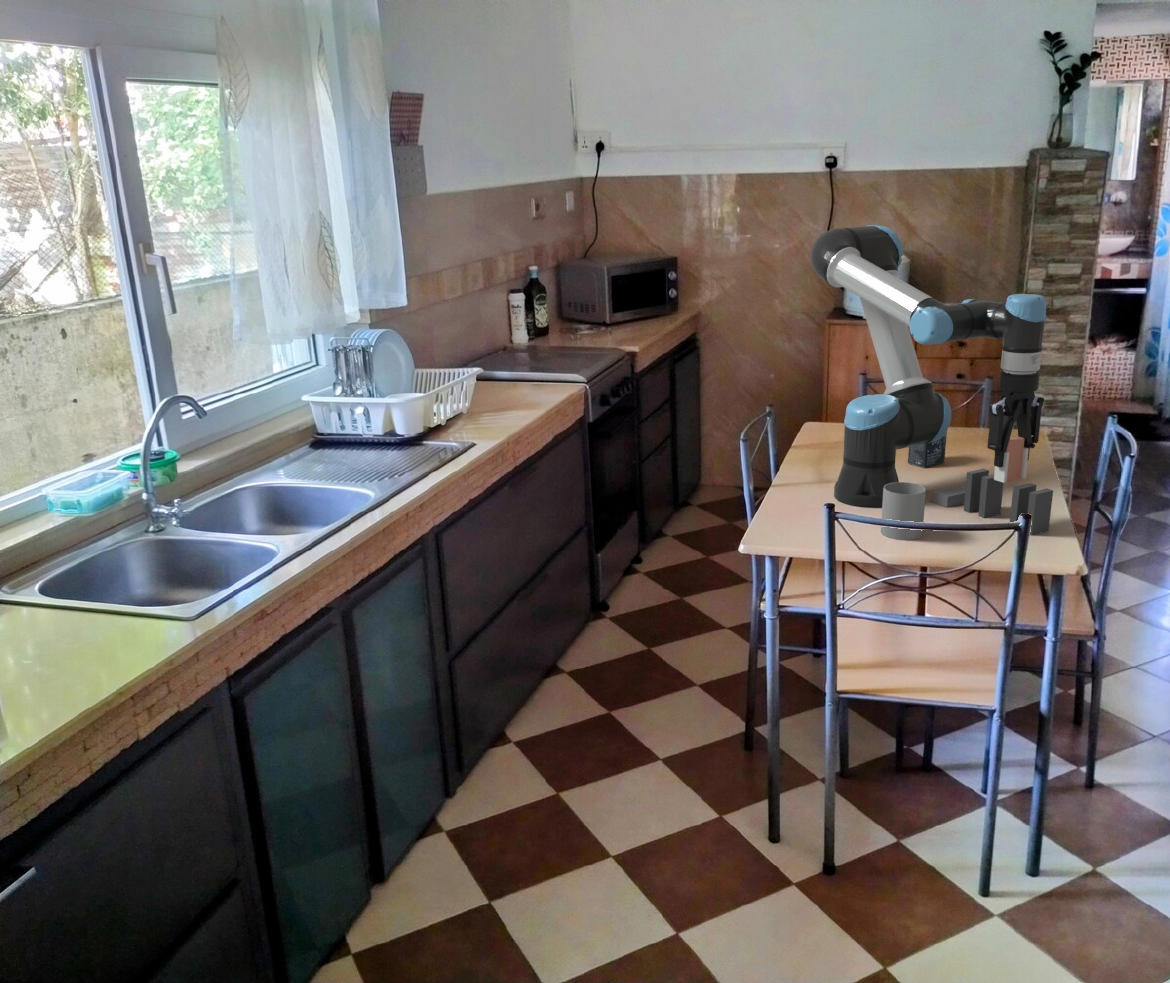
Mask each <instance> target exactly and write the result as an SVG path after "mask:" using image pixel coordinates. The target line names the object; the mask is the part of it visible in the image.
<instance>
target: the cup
mask: <svg viewBox="0 0 1170 983" xmlns="http://www.w3.org/2000/svg"><path fill="white" fill-rule="evenodd" d="M926 491H927V489H926V488H925V487H924V486H923V485H920V484H918V483H913V482H905V481H903V482H902V481H899V482H896V483H889V484H886V485H885V486H884V487H883V503H882V506H881V519H892V520H900V521H914V522H923V523H925V522H924V520H925V507H926V494H927V492H926ZM923 531H924V530H923ZM923 531H921V530H910V529H898V528H890V527H881V526H880V533H881V535H882V536H884V537H885V538H888V539H890V540H891V539H892V540H897V541H915V540H917V539H920V538H922V536H923V533H924V532H923Z"/></svg>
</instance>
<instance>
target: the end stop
mask: <svg viewBox="0 0 1170 983" xmlns="http://www.w3.org/2000/svg"><path fill="white" fill-rule="evenodd" d="M965 489H966V487H963V486H961V485H960V486H955V487H952V488H948V489H947V488H946V489H942V490H939V491H934V494H933V504H937V505H939V506H942V507H944V508H950V507H954V506H955V507H956V506H959V505H962V504H963V505H964V500H965Z"/></svg>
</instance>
